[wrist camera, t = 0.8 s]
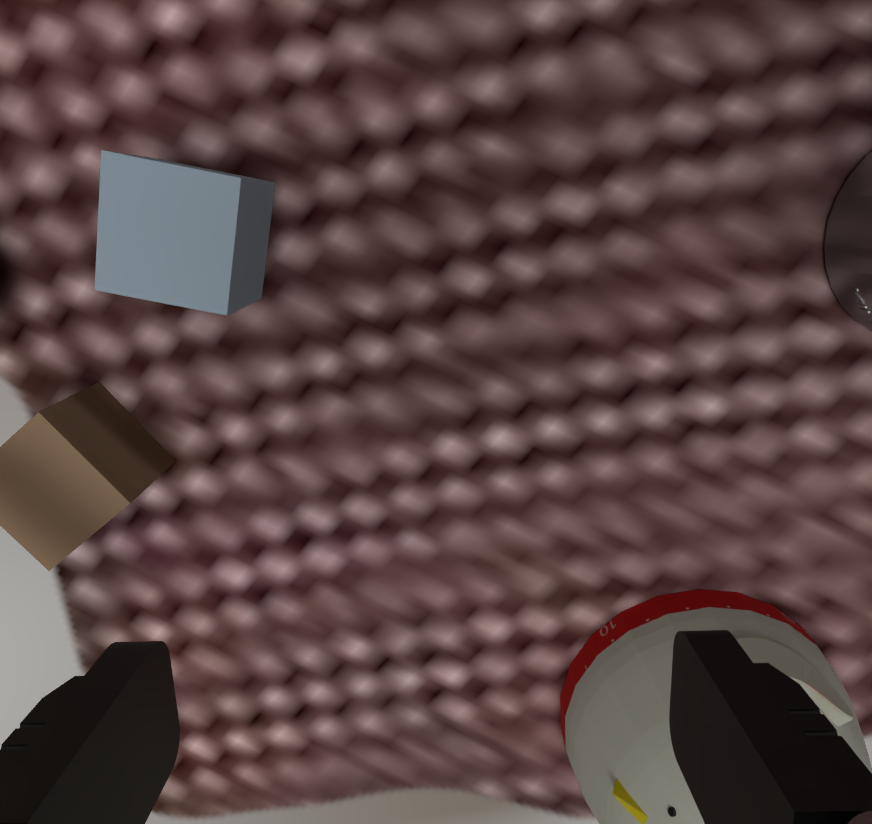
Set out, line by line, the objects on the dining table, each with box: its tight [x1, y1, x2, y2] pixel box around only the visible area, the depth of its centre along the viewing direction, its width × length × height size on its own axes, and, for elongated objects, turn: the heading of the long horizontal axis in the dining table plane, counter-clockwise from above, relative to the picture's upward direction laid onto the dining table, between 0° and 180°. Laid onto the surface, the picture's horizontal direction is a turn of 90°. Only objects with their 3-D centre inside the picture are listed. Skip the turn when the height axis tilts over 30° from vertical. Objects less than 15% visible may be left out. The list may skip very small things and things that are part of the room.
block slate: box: [95, 150, 275, 315], centre depth 28 cm, size 5×5×5 cm
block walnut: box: [0, 382, 175, 571], centre depth 31 cm, size 5×5×5 cm
